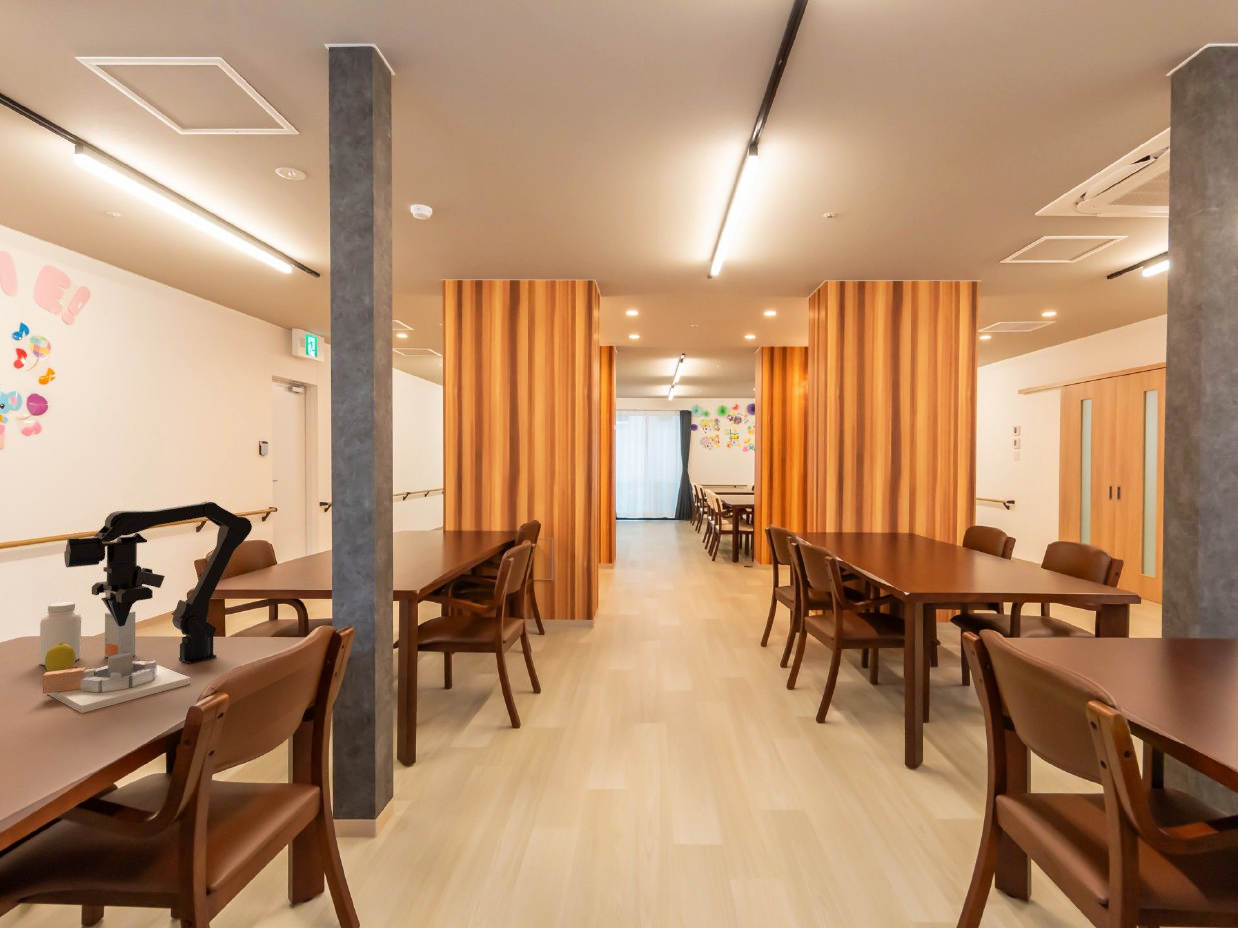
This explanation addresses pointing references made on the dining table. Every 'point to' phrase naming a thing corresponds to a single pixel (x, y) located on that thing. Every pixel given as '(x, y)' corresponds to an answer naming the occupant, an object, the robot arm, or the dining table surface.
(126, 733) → the dining table surface
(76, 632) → the pill bottle
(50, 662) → the lemon
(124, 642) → the skincare box
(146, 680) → the toy block set
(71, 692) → the base board
